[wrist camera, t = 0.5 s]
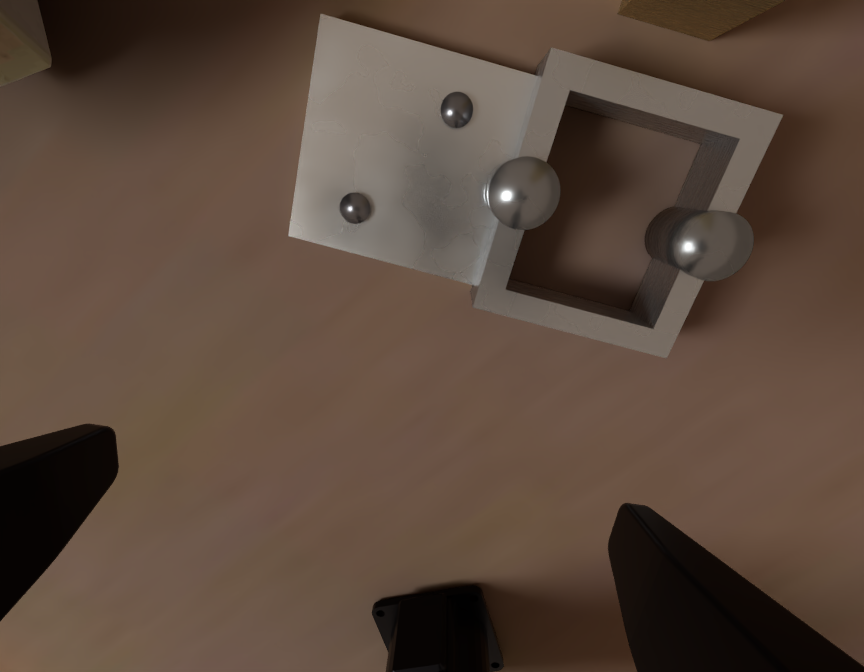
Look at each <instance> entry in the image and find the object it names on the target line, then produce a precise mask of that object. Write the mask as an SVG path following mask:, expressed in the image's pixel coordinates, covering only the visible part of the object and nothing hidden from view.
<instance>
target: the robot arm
mask: <svg viewBox="0 0 864 672" xmlns="http://www.w3.org/2000/svg"><path fill="white" fill-rule="evenodd" d="M118 468H119V464H118V454H117V443H116V435H115V432H114V430H113V429H112V428H110V427H108V426H102V425H95V424H82V425H79V426H75V427H71V428H67V429H64V430H60V431H56V432H52V433H49V434H45V435H41V436H37V437H34V438H30V439H26V440H22V441H18V442H15V443H11V444H7V445H3V446H0V621H1V620H2V619H3V618H4V617H5V615H6V614H7V613H8V612H9V611H10V610H11V609H12V608H13V607H14V605H15V604H16V603H17V602H18V601H19V600H20V599H21V598H22V596H23V595H24V594H25V593H26V592H27V591H28V590H29V589H30V587H31V586H32V585H33V584H34V583H35V582H36V581H37V580H38V579H39V577H40V576H41V575H42V574H43V573H44V572H45V571H46V569H47V568H48V567H49V566H50V565H51V564H52V562H53V561H54V560H55V559H56V557H57V556H58V555H59V554H60V552H61V551H62V550H63V549H64V547H65V546H66V545H67V543H68V542H69V541H70V539H71V538H72V537H73V535H74V534H75V533H76V531H77V530H78V529H79V527H80V526H81V525H82V523H83V522H84V521H85V519H86V518H87V517H88V515H89V514H90V513H91V511H92V510H93V509H94V507H95V506H96V505H97V503H98V502H99V501H100V499H101V498H102V497H103V495H104V494H105V493H106V491H107V490H108V489H109V487H110V486H111V485H112V483H113V482H114V480H115V478H116V476H117V473H118ZM608 553H609V558H610V563H611V567H612V572H613V576H614V581H615V585H616V590H617V594H618V599H619V603H620V608H621V612H622V617H623V621H624V626H625V630H626V634H627V638H628V642H629V646H630V649H631V653H632V656H633V659H634V663H635V666H636V669H637V672H864V666H862V665H861V664H860V663H858V662H857V661H856V660H854V659H853V658H852V657H850V656H849V655H848V654H846V653H845V652H843V651H842V650H841V649H839V648H838V647H837V646H835V645H834V644H833V643H831V642H830V641H829V640H827V639H826V638H825V637H823V636H822V635H821V634H819V633H818V632H817V631H815V630H814V629H812V628H811V627H810V626H808V625H807V624H806V623H804V622H803V621H802V620H800V619H799V618H798V617H796V616H795V615H794V614H792V613H791V612H790V611H788V610H787V609H786V608H784V607H783V606H781V605H780V604H779V603H777V602H776V601H775V600H773V599H772V598H771V597H769V596H768V595H767V594H765V593H764V592H763V591H761V590H760V589H759V588H757V587H756V586H755V585H753V584H752V583H750V582H749V581H748V580H746V579H745V578H744V577H742V576H741V575H740V574H738V573H737V572H736V571H734V570H733V569H732V568H730V567H729V566H728V565H726V564H725V563H724V562H722V561H721V560H720V559H718V558H717V557H715V556H714V555H713V554H711V553H710V552H709V551H707V550H706V549H705V548H703V547H702V546H701V545H699V544H698V543H697V542H695V541H694V540H693V539H691V538H690V537H689V536H687V535H686V534H685V533H683V532H682V531H680V530H679V529H678V528H676V527H675V526H674V525H672V524H671V523H670V522H668V521H667V520H666V519H664V518H663V517H662V516H660V515H659V514H658V513H656V512H655V511H654V510H652V509H651V508H649V507H648V506H645V505H638V504H631V503H625V504H623V505H621V507H620V508H619V510H618V513H617V517H616V520H615V523H614V526H613V529H612V532H611V535H610V538H609V543H608ZM372 615H373V618H374V620H375V622H376V625H377V627H378V629H379V632H380V634H381V636H382V639H383V641H384V643H385V646H386V648H387V650H388V659H387V666H386V672H493V671H499V670H501V669H502V668H503V667H504V664H503V656H502V653H501V650H500V647H499V644H498V640H497V637H496V634H495V631H494V628H493V625H492V621H491V618H490V615H489V612H488V609H487V606H486V602H485V599H484V596H483V593H482V590H481V589H480V588H479V587H478V586H466V587H460V588H454V589H448V590H442V591H436V592H430V593H425V594H419V595H413V596H407V597H401V598H395V599H389V600H383V601H378V602H376V603H374V605H373V609H372Z"/></svg>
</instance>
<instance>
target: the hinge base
mask: <svg viewBox="0 0 864 672" xmlns="http://www.w3.org/2000/svg"><path fill="white" fill-rule="evenodd" d="M565 105H566V106H570V107H573V108H577V109H580V110H584V111H587V112H591V113H594V114H598V115H601V116H605V117H608V118H612V119H615V120H619V121H622V122H626V123H629V124H633V125H636V126H640V127H643V128H647V129H650V130H654V131H657V132H661V133H664V134H668V135H671V136H675V137H678V138H682V139H685V140H689V141H692V142H696V143H699V144H701V146H700V148H699V151H698V153H697V155H696V158H695V160H694V162H693V165H692V167H691V169H690V172H689V174H688V176H687V179H686V181H685V183H684V186H683V188H682V190H681V193H680V195H679V197H678V199H677V202H676V204H675V206H674V207H670V208H667V209H665V210H663V211H662V212H660V213H659V214H658V215H656V216H655V217H654V218H653V220H652V221H651V222H650V224H649V226H648V228H647V230H646V234H645V246H646V250H647V252H648V254H649V255H650V256H651V257H652V260H651V262H650V265H649V267H648V269H647V272H646V274H645V276H644V279H643V281H642V283H641V285H640V288H639V290H638V292H637V295H636V297H635V299H634V302H633V304H632V306H631V309H630V311H628V310H624V309H620V308H617V307H613V306H609V305H605V304H602V303H598V302H594V301H590V300H587V299H583V298H579V297H575V296H572V295H568V294H564V293H560V292H557V291H553V290H549V289H545V288H542V287H538V286H534V285H530V284H527V283H523V282H519V281H516V280H512V279H509V276H510V273H511V270H512V267H513V264H514V261H515V258H516V255H517V252H518V249H519V246H520V243H521V239H522V236H523V233H524V230H528V229H533V228H536V227H538V226H540V225H541V224H543V223H544V222H546V221H547V220H548V219H549V218H550V217H551V216H552V214H553V213H554V211H555V210H556V208H557V205H558V203H559V199H560V183H559V179H558V177H557V174H556V173H555V171H554V170H553V168H552V167H551V166H550V165H549V164H548V163H546V162H547V159H548V156H549V153H550V150H551V147H552V144H553V141H554V138H555V134H556V131H557V128H558V125H559V122H560V119H561V116H562V113H563V110H564V107H565ZM782 117H783V115H782V114H778V113H775V112H771V111H768V110H765V109H761V108H758V107H754V106H751V105H747V104H744V103H741V102H737V101H734V100H730V99H727V98H723V97H720V96H717V95H713V94H710V93H706V92H703V91H699V90H696V89H692V88H689V87H686V86H682V85H679V84H675V83H672V82H668V81H665V80H662V79H658V78H655V77H651V76H648V75H644V74H641V73H637V72H634V71H631V70H627V69H624V68H620V67H617V66H613V65H610V64H607V63H603V62H600V61H596V60H593V59H589V58H586V57H583V56H579V55H576V54H572V53H569V52H565V51H562V50H558V49H555V48H552V47H551V48H550V50H549V51H548V52H547V54H546V55H545V56H544V58H543V59H542V60H541V62H540V63H539V64H538V66H537V69H536V73H535V75H532V74H529V73H525V72H522V71H518V70H515V69H511V68H508V67H504V66H501V65H497V64H494V63H491V62H487V61H484V60H480V59H477V58H473V57H470V56H466V55H463V54H459V53H456V52H452V51H449V50H445V49H442V48H438V47H435V46H431V45H428V44H425V43H421V42H418V41H414V40H411V39H407V38H404V37H400V36H397V35H393V34H390V33H386V32H383V31H379V30H376V29H372V28H369V27H365V26H362V25H359V24H355V23H352V22H348V21H345V20H341V19H338V18H334V17H331V16H327V15H324V14H320V21H319V27H318V34H317V41H316V48H315V55H314V62H313V69H312V76H311V83H310V90H309V97H308V104H307V111H306V117H305V124H304V131H303V138H302V145H301V152H300V159H299V166H298V173H297V180H296V187H295V194H294V200H293V207H292V214H291V221H290V228H289V235H288V236H291V237H294V238H298V239H302V240H306V241H310V242H313V243H317V244H321V245H325V246H328V247H332V248H336V249H340V250H343V251H347V252H351V253H355V254H359V255H362V256H366V257H370V258H374V259H377V260H381V261H385V262H389V263H392V264H396V265H400V266H404V267H408V268H411V269H415V270H419V271H423V272H426V273H430V274H434V275H438V276H441V277H445V278H449V279H453V280H456V281H460V282H464V283H468V284H472V288H471V299H472V306H473V308H477V309H481V310H485V311H488V312H492V313H496V314H500V315H504V316H507V317H511V318H515V319H519V320H523V321H526V322H530V323H534V324H538V325H542V326H545V327H549V328H553V329H557V330H561V331H564V332H568V333H572V334H576V335H580V336H583V337H587V338H591V339H595V340H599V341H602V342H606V343H610V344H614V345H618V346H621V347H625V348H629V349H633V350H637V351H640V352H644V353H648V354H652V355H656V356H659V357H663V358H667V357H668V355H669V353H670V351H671V348H672V346H673V344H674V342H675V340H676V338H677V336H678V334H679V332H680V330H681V328H682V326H683V323H684V321H685V319H686V317H687V315H688V313H689V311H690V309H691V307H692V305H693V303H694V300H695V298H696V296H697V294H698V292H699V290H700V288H701V286H702V284H703V282H704V281H718V280H722V279H725V278H727V277H729V276H731V275H733V274H734V273H736V272H737V271H738V270H739V269H741V268H742V266H743V265H744V264H745V263H746V261H747V260H748V258H749V257H750V254H751V252H752V249H753V244H754V235H753V231H752V228H751V226H750V224H749V223H748V221H747V220H746V219H745V218H743V217H742V216H740V215H738V214H736V213H737V211H738V209H739V207H740V204H741V202H742V200H743V198H744V196H745V194H746V192H747V190H748V188H749V186H750V184H751V181H752V179H753V177H754V175H755V173H756V171H757V169H758V167H759V165H760V163H761V161H762V159H763V156H764V154H765V152H766V150H767V148H768V146H769V144H770V142H771V140H772V138H773V136H774V133H775V131H776V129H777V127H778V125H779V123H780V121H781V119H782Z"/></svg>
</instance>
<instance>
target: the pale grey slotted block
mask: <svg viewBox="0 0 864 672" xmlns="http://www.w3.org/2000/svg"><path fill="white" fill-rule="evenodd" d="M51 63H52V58H51V53H50V49H49V46H48V41H47V37H46V33H45V29H44V25H43V21H42V17H41V13H40V9H39V5H38V1H37V0H0V87H2V86H4V85H7V84H9V83H12V82H15V81H18V80H21V79H23V78H25V77H27V76H30V75H32V74H35V73H37V72H40V71H42V70H45V69H47V68H50V67H51Z"/></svg>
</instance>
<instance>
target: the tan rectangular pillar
mask: <svg viewBox="0 0 864 672" xmlns="http://www.w3.org/2000/svg"><path fill="white" fill-rule="evenodd" d="M783 1H785V0H622V3H621V6H620V9H619V12H618V14H620V15H623V16H627V17H630V18H633V19H637V20H640V21H643V22H647V23H650V24H653V25H657V26H660V27H664V28H667V29H670V30H674V31H677V32H680V33H684V34H687V35H690V36H694V37H697V38H701V39H704V40H707V41H710V40H712V39H714V38H716V37H717V36H719V35H721V34H723V33H725V32H727V31H729V30H731V29H733V28H734V27H736V26H738V25H740V24H742V23H744V22H746V21H748V20H749V19H751V18H753V17H755V16H757V15H759V14H761V13H763V12H765V11H766V10H768V9H770V8H772V7H774V6H776V5H778V4H780V3H781V2H783Z"/></svg>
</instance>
